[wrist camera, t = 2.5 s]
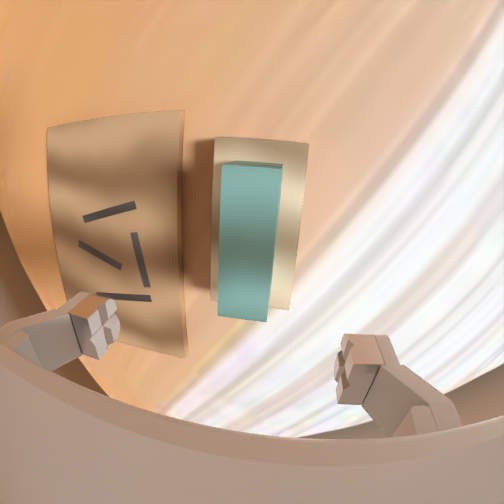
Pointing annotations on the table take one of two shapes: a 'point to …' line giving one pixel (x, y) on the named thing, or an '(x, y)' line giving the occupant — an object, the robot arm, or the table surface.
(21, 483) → the robot arm
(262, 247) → the block
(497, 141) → the table surface
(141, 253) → the wooden board
